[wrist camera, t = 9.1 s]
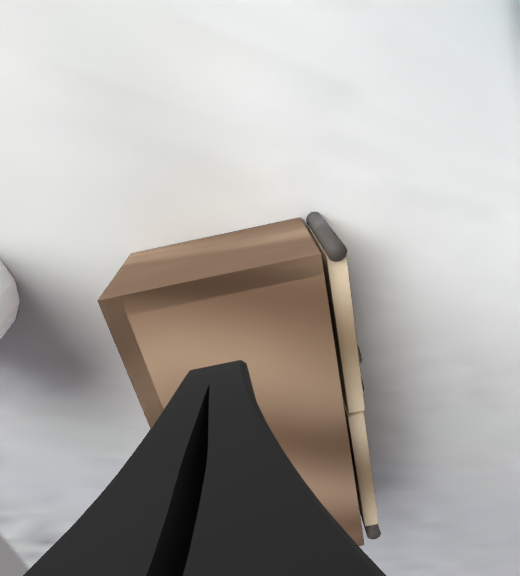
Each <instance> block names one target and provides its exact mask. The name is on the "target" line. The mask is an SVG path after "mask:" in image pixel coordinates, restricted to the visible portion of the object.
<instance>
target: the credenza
mask: <svg viewBox="0 0 520 576" xmlns="http://www.w3.org/2000/svg"><path fill="white" fill-rule="evenodd" d="M306 221H307V224H308V225H309V226H308V228H309V232H308V230H307V228H306V227H305V225H304V223H303V221H302V220H301V218H295V219H290V220H286V221H281V222H276V223H272V224H267V225H262V226H258V227H253V228H248V229H244V230H239V231H234V232H230V233H225V234H220V235H216V236H211V237H206V238H202V239H197V240H192V241H188V242H183V243H178V244H173V245H169V246H164V247H159V248H155V249H150V250H145V251H141V252H136V253H131V254H130V256H129V257H128V259H127V260H126V261H125V263H124V264H123V266H122V267H121V268H120V270H119V271H118V273H117V274H116V275H115V277H114V278H113V280H112V281H111V282H110V284H109V285H108V287H107V288H106V289H105V291H104V292H103V294H102V295H101V296H100V298H99V299H98V303H99V306H100V308H101V310H102V313H103V315H104V318H105V320H106V322H107V325H108V327H109V330H110V332H111V334H112V337H113V339H114V342H115V344H116V346H117V349H118V351H119V354H120V356H121V358H122V361H123V363H124V366H125V368H126V370H127V373H128V375H129V378H130V380H131V382H132V385H133V387H134V390H135V392H136V395H137V397H138V399H139V402H140V404H141V407H142V409H143V411H144V414H145V416H146V419H147V421H148V423H149V426H150V428H152V426H153V425H154V423H155V422H156V421H157V419H158V418H159V416H160V415H161V413H162V412H163V410H164V409H165V407H166V406H167V404H168V402H169V401H170V399H171V398H172V396H173V395H174V393H175V392H176V390H177V388H178V387H179V385H180V384H181V382H182V381H183V379H184V378H185V376H186V375H187V373H188V372H189V371H190V370H193V369H198V368H203V367H208V366H213V365H218V364H223V363H228V362H233V361H238V360H242V361H244V362H245V363H247V367H248V371H249V375H250V379H251V382H252V386H253V390H254V394H255V398H256V401H257V404H258V406H259V408H260V410H261V412H262V414H263V416H264V418H265V420H266V422H267V424H268V426H269V427H270V429H271V431H272V433H273V434H274V436H275V438H276V439H277V441H278V443H279V444H280V446H281V448H282V449H283V451H284V452H285V454H286V455H287V457H288V458H289V460H290V461H291V463H292V464H293V466H294V467H295V469H296V470H297V471H298V473H299V474H300V476H301V477H302V478H303V480H304V481H305V483H306V484H307V485H308V486H309V488H310V489H311V490H312V492H313V493H314V494H315V496H316V497H317V498H318V499H319V501H320V502H321V503H322V505H323V506H324V507H325V508H326V509H327V510H328V512H329V513H330V514H331V515H332V516H333V517H334V519H335V520H336V521H337V522H338V523H339V524H340V525H341V527H342V528H343V529H344V530H345V531H346V532H347V534H348V535H349V536H350V537H351V538H352V539H353V541H354V542H355V543H356V544H357V545H358V546H362V545H364V539H363V532H362V525H361V518H360V512H359V505H358V498H357V491H356V485H355V478H354V471H353V465H352V458H351V451H350V444H349V438H348V431H347V424H346V417H345V411H344V404H343V398H344V401H345V404H346V406H347V409H348V412H349V413H353V412H358V411H363V410H365V406H364V398H363V390H362V382H361V373H360V365H359V363H361V362H362V359H361V353H360V350H359V347H358V345H357V340H356V332H355V324H354V316H353V307H352V299H351V291H350V283H349V274H348V266H347V258H346V254H347V249H346V247H345V246H344V244H343V243H342V242H341V240H340V239H339V238H338V237H337V235H336V234H335V233H334V232H333V230H332V229H331V228H330V226H329V225H328V224H327V223H326V221H325V220H324V219H323V217H322V216H321V215H320V214H319V213H318V212H311V213H310V214H309V215H308V216H307V219H306ZM342 396H343V397H342Z"/></svg>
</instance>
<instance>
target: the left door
mask: <svg viewBox="0 0 520 576" xmlns="http://www.w3.org/2000/svg"><path fill="white" fill-rule="evenodd" d="M361 382H362V378H361ZM362 390H363V391H364V386H363V382H362ZM342 397H343V396H342ZM343 404H344V411H345V417H346V424H347V431H348V438H349V444H350V451H351V458H352V465H353V471H354V478H355V485H356V491H357V498H358V505H359V511H360V514H361V517H362V521H363V524H364V527H365V530H366V534H367V537H368V538H370V539H376V538H378V537H379V536H380V535H381V532H380V530H379V527H378V524H379V523H378V515H377V508H376V500H375V493H374V485H373V478H372V470H371V463H370V455H369V448H368V441H367V433H366V426H365V418H364V413H363V411H358V412H353V413H349V412H348V409H347V406H346V404H345V401H344V398H343Z"/></svg>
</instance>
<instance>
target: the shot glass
mask: <svg viewBox="0 0 520 576" xmlns="http://www.w3.org/2000/svg"><path fill="white" fill-rule="evenodd" d="M19 304H20V300H19V295H18V291H17V286H16V282H15V280H14V278H13V277H12V275H11V274H10V272H9V271H8V269H7V268H6V267H5V265H4V264H3V262H2V261H1V260H0V339H1V338H2V337H3V335H4V334H5V333H6V331H7V330H8V329H9V328H10V326H11V325H12V324H13V322H14V321H15V319H16V315H17V311H18V308H19Z"/></svg>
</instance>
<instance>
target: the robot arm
mask: <svg viewBox="0 0 520 576" xmlns="http://www.w3.org/2000/svg"><path fill="white" fill-rule="evenodd" d="M23 576H386V575H385V574H384V573H383V572H382V571H381V570H380V569H379V568H378V566H377V565H376V564H375V563H374V562H373V561H372V560H371V559H370V558H369V557H368V556H367V555H366V554H365V553H364V552H363V551H362V550H361V549H360V547H359V546H358V545H357V544H356V543H355V542H354V541H353V539H352V538H351V537H350V536H349V535H348V534H347V532H346V531H345V530H344V529H343V528H342V527H341V525H340V524H339V523H338V522H337V521H336V520H335V519H334V517H333V516H332V515H331V514H330V513H329V512H328V510H327V509H326V508H325V507H324V506H323V505H322V503H321V502H320V501H319V499H318V498H317V497H316V496H315V494H314V493H313V492H312V490H311V489H310V488H309V486H308V485H307V484H306V483H305V481H304V480H303V478H302V477H301V476H300V474H299V473H298V471H297V470H296V469H295V467H294V466H293V464H292V463H291V461H290V460H289V458H288V457H287V455H286V454H285V452H284V451H283V449H282V448H281V446H280V444H279V443H278V441H277V439H276V438H275V436H274V434H273V433H272V431H271V429H270V427H269V426H268V424H267V422H266V420H265V418H264V416H263V414H262V412H261V410H260V408H259V406H258V404H257V401H256V398H255V394H254V390H253V386H252V382H251V379H250V375H249V371H248V367H247V363H245V362H244V361H242V360H238V361H233V362H228V363H223V364H218V365H213V366H208V367H203V368H198V369H193V370H190V371H189V372H188V373H187V375H186V376H185V378H184V379H183V381H182V382H181V384H180V385H179V387H178V388H177V390H176V392H175V393H174V395H173V396H172V398H171V399H170V401H169V402H168V404H167V406H166V407H165V409H164V410H163V412H162V413H161V415H160V416H159V418H158V419H157V421H156V422H155V423H154V425H153V426H152V428H151V429H150V431H149V432H148V434H147V435H146V437H145V438H144V439H143V441H142V442H141V444H140V445H139V446H138V448H137V449H136V450H135V452H134V453H133V454H132V456H131V457H130V458H129V460H128V461H127V462H126V464H125V465H124V466H123V468H122V469H121V470H120V472H119V473H118V474H117V475H116V477H115V478H114V479H113V480H112V481H111V483H110V484H109V485H108V486H107V487H106V489H105V490H104V491H103V492H102V493H101V495H100V496H99V497H98V498H97V499H96V500H95V501H94V502H93V504H92V505H91V506H90V507H89V508H88V509H87V510H86V511H85V513H84V514H83V515H82V516H81V517H80V518H79V519H78V520H77V521H76V523H75V524H74V525H73V526H72V527H71V528H70V529H69V530H68V531H67V532H66V533H65V534H64V535H63V536H62V537H61V538H60V539H59V540H58V541H57V542H56V543H55V544H54V545H53V546H52V547H51V548H50V549H49V550H48V551H47V552H46V553H45V554H44V555H43V556H42V557H41V558H40V559H39V560H38V561H37V562H36V563H35V564H34V565H33V566H32V567H31V568H30V569H29V570H28V571H27V572H26V573H25V574H24V575H23Z"/></svg>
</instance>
